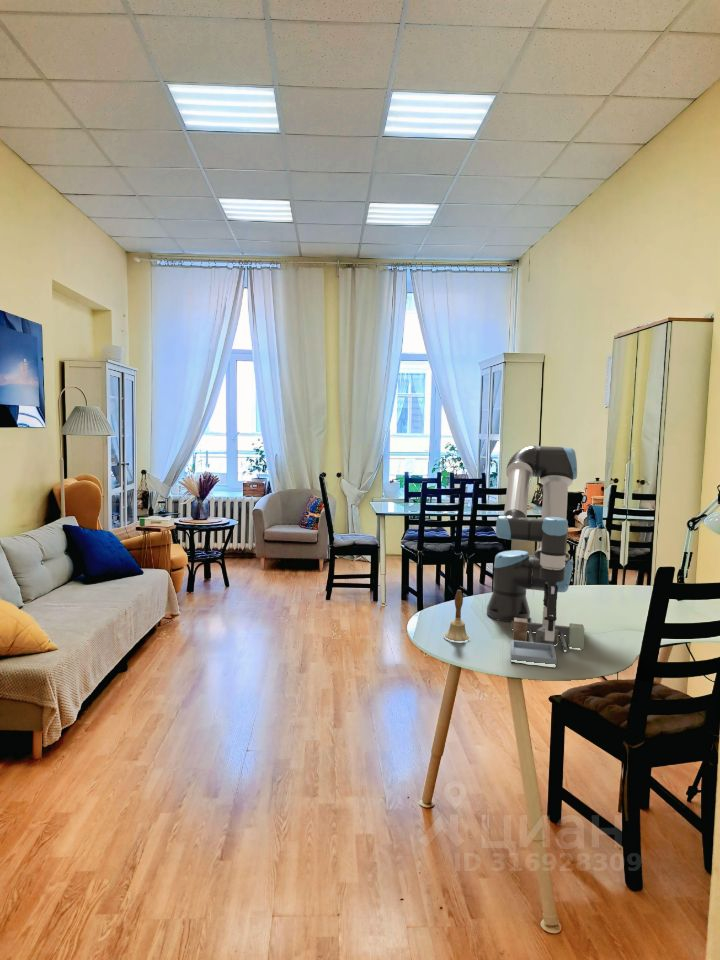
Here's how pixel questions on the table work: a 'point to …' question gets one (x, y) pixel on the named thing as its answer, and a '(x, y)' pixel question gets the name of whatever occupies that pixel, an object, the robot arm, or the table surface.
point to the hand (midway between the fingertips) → (547, 633)
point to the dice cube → (541, 636)
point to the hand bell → (457, 622)
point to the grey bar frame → (534, 626)
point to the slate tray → (533, 652)
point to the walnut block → (520, 629)
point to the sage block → (576, 635)
